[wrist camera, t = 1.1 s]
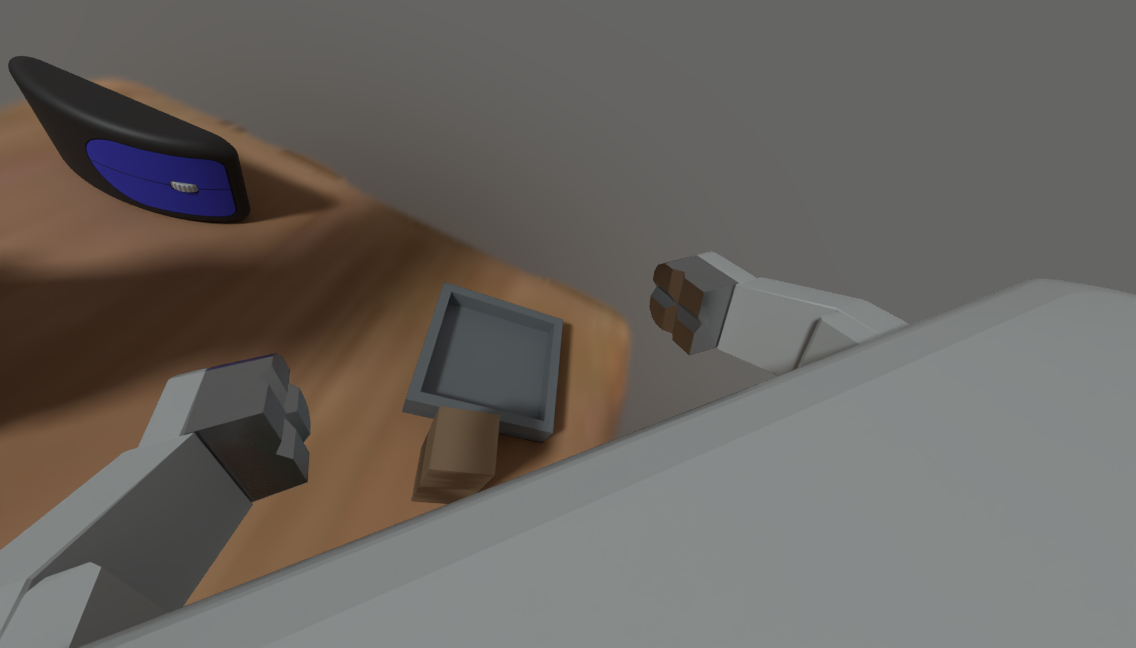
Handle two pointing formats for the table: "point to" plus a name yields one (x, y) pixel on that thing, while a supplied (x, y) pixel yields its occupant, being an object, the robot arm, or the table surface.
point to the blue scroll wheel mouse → (134, 147)
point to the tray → (489, 363)
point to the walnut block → (456, 455)
